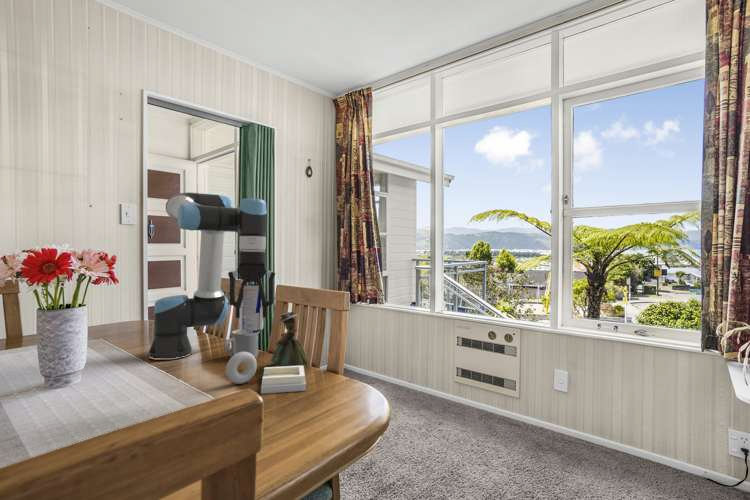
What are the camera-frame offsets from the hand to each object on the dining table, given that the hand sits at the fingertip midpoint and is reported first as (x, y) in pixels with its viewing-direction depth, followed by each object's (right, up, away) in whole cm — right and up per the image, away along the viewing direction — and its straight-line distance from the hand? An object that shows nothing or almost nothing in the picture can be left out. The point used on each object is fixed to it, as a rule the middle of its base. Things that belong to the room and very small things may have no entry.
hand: (251, 328), depth 115 cm
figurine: (+6, -19, +26) cm, 33 cm away
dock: (+8, -19, +8) cm, 22 cm away
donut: (-5, -19, +7) cm, 21 cm away
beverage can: (0, -2, 0) cm, 2 cm away
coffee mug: (-16, -19, +36) cm, 44 cm away
